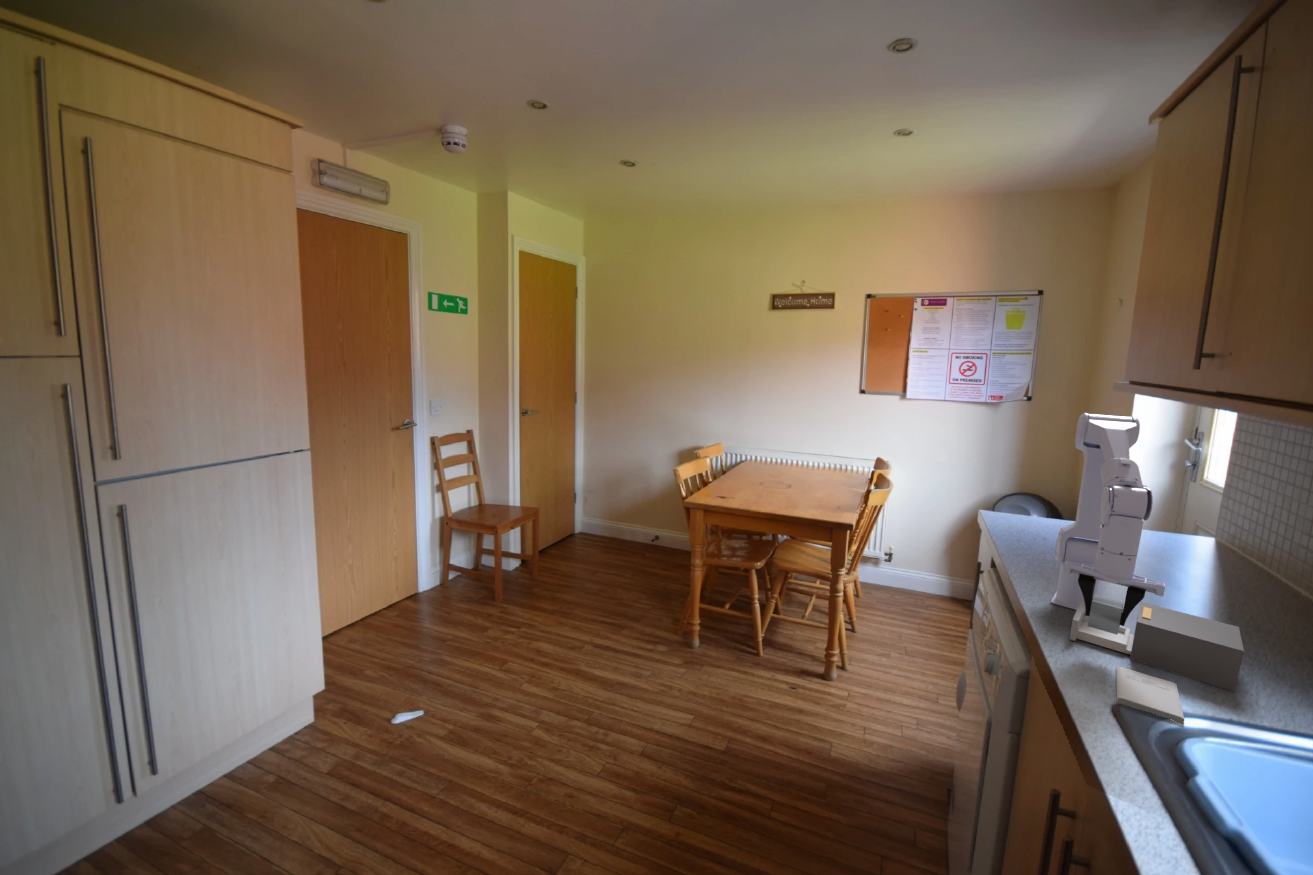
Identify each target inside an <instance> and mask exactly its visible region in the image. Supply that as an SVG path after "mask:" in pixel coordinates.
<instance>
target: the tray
mask: <svg viewBox="0 0 1313 875" xmlns="http://www.w3.org/2000/svg"><path fill="white" fill-rule="evenodd" d="M1085 614H1086V613H1085V602H1083V601H1080V604H1079V606H1078V608H1077V610H1075V613H1074V616H1073V618H1072V621H1071V628H1070V633H1069V640H1071V641H1075V642H1076V641H1077V640H1081V641H1083V642H1087V643H1090V644H1094V645H1097V646H1101V647H1103V648H1106V649H1107V648H1108V649H1110V650H1113V651H1116V652H1120V653H1124V654H1127V655H1130V656H1131V651H1132V645H1133V640H1134V634H1133V633H1130V630H1131V628H1128V627H1125V626H1121V625H1120V626H1119V630H1118V635H1116V634H1113V633H1109V632H1106V631H1103V630H1099V629H1096V628H1092V627H1089V626H1088V621H1089V616H1086V615H1085Z"/></svg>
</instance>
